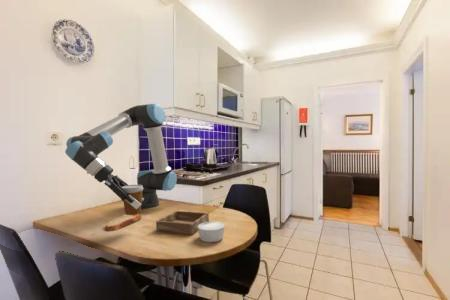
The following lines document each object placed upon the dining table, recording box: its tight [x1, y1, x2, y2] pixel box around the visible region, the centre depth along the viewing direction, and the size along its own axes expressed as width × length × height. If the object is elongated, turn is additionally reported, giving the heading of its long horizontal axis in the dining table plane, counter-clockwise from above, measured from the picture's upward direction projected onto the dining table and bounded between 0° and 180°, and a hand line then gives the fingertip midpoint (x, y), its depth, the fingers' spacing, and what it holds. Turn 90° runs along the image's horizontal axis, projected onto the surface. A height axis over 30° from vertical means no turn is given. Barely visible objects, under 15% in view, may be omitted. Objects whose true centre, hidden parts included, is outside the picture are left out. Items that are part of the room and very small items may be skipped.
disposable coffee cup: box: [122, 184, 144, 216], centre depth 107 cm, size 10×10×12 cm
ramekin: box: [197, 221, 226, 243], centre depth 98 cm, size 11×11×5 cm
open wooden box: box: [155, 210, 210, 236], centre depth 114 cm, size 18×18×4 cm
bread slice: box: [105, 213, 142, 232], centre depth 121 cm, size 18×18×4 cm
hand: (140, 204), depth 107 cm, fingers closed on disposable coffee cup, 9 cm apart
